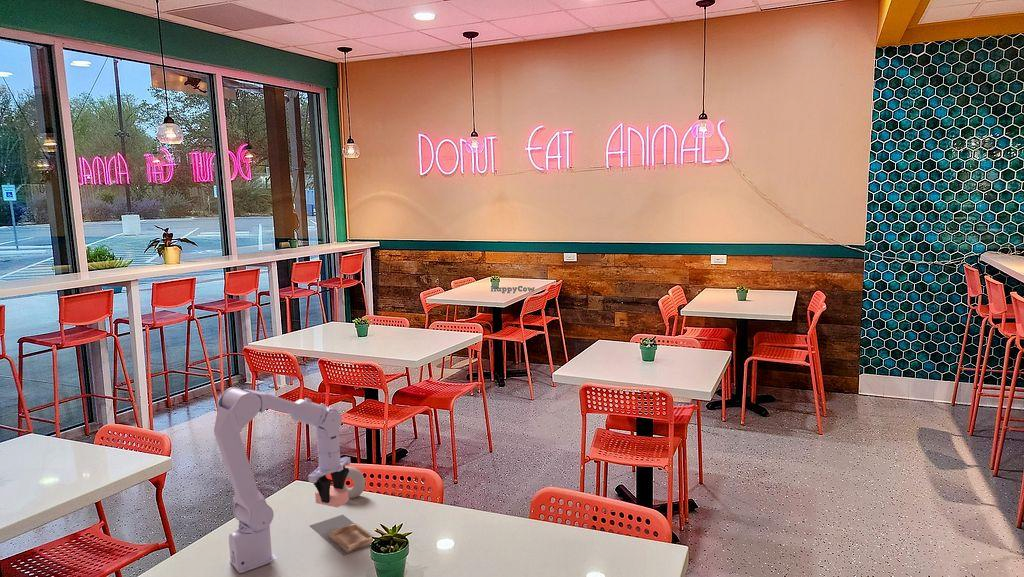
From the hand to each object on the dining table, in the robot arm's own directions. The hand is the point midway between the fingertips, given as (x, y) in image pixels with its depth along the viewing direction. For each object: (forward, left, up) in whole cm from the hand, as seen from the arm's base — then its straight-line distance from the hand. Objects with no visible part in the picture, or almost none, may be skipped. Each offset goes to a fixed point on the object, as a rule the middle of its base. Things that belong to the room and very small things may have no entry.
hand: (332, 498), depth 184 cm
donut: (+12, +15, -9) cm, 21 cm away
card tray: (0, -11, -8) cm, 14 cm away
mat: (0, -6, -9) cm, 11 cm away
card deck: (0, 0, -1) cm, 1 cm away
